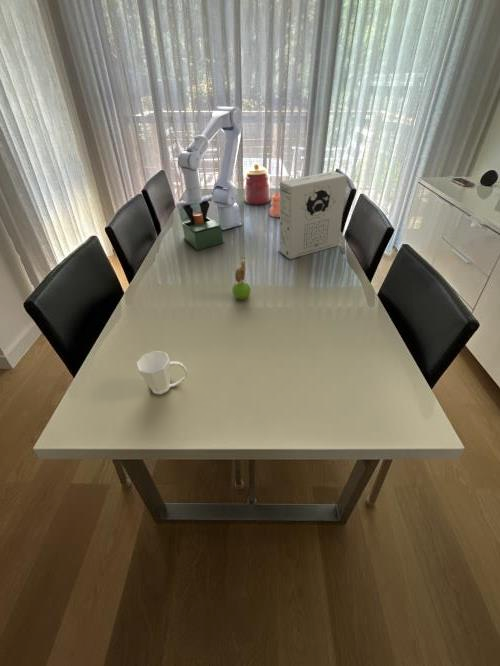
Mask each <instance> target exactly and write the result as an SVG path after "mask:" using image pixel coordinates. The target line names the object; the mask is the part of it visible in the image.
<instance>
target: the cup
mask: <svg viewBox="0 0 500 666" xmlns="http://www.w3.org/2000/svg"><path fill="white" fill-rule="evenodd" d="M135 364H136V367H137V369H138V372H139V373H140V375H141V376H142V378H143V379H144V381H145V383H146V385H147V386H148V387H149V389H150V390H151V391H152V393H153V394H155V395H162V394H165V393H167V392H169V390H170V388H175V387H176V386H178V385H180V384H181V383H183V382H184V381H185V380H186V379H187V376H188V370H187V367H186V366H185V364H184V363H182V362H181V361H179V360H178V361H177V360H172V361H170V357H169V355H168V354H167V352H165V351H159V350H152V351H150V352H147V353H144V354H141V356H140V357H139V359H138V360H137V362H136V363H135ZM176 365H177V366H179V367H181V368H182V370H183V371H184V373H185V374H184V376H182V377H181V378H180V379H179V380H177V381H176V382H172V383H171V377H172V375H171V374H172V373H171V367H173V366H176Z"/></svg>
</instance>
